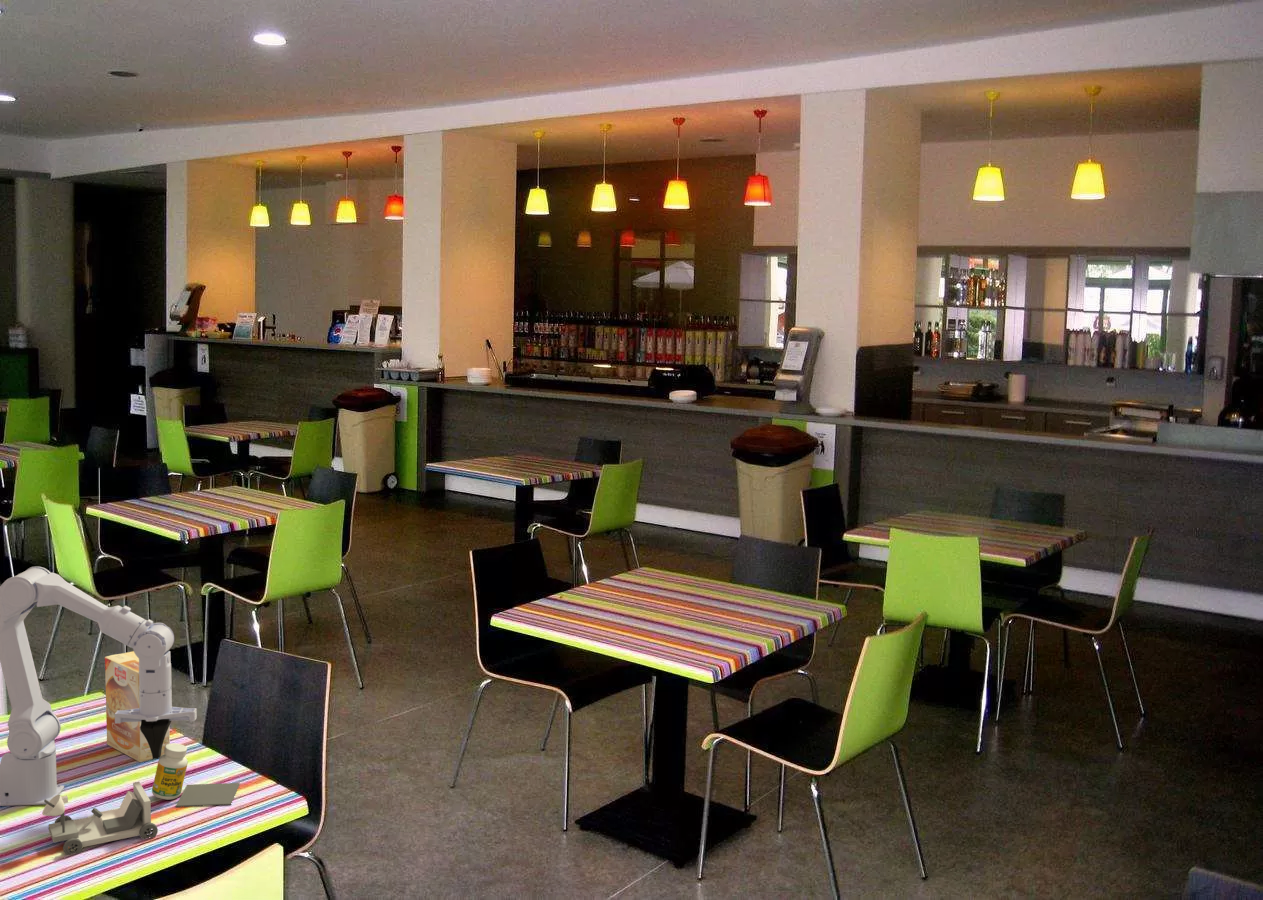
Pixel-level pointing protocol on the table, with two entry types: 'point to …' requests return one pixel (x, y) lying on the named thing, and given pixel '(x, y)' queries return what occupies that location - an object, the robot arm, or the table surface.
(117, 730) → the coffeecake box
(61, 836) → the toy car
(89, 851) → the table surface
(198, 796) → the mat
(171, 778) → the supplement bottle
